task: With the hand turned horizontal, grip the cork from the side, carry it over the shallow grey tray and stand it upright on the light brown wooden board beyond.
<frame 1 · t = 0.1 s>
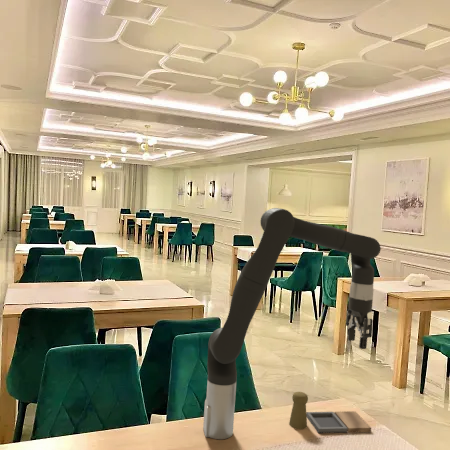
hand: (356, 344, 159), 29 cm above the table, tool pointing down, fingers open, 8 cm apart
cork: (298, 425, 162), on the table
light brown wooden board: (351, 423, 165), on the table
shallow grey tray: (325, 424, 164), on the table
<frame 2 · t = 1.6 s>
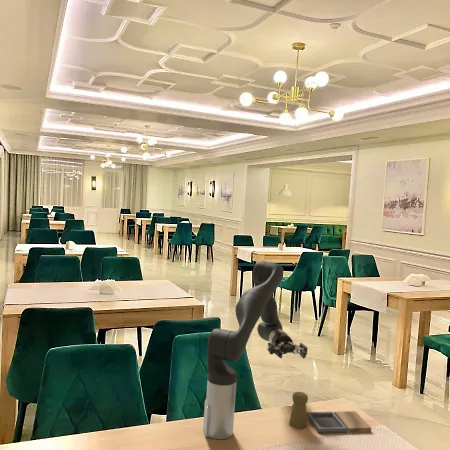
hand: (292, 355, 171), 20 cm above the table, tool horizontal, fingers open, 8 cm apart
nothing on the table moved.
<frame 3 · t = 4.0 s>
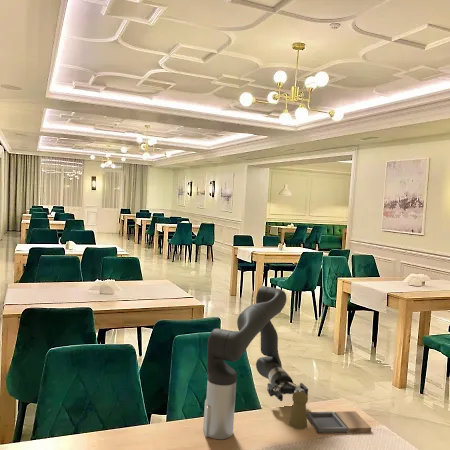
hand: (293, 398, 167), 6 cm above the table, tool horizontal, fingers open, 8 cm apart
nothing on the table moved.
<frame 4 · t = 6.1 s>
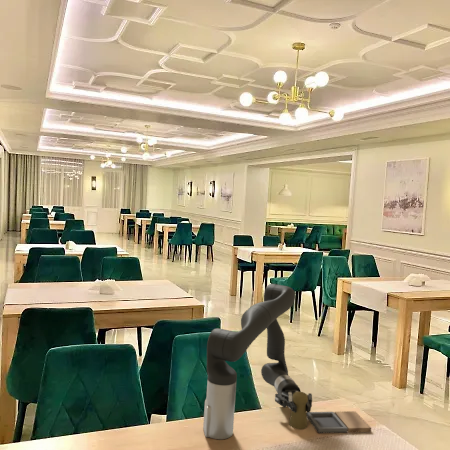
hand: (302, 409, 159), 7 cm above the table, tool horizontal, fingers closed on cork, 4 cm apart
cork: (298, 425, 162), on the table, touching gripper
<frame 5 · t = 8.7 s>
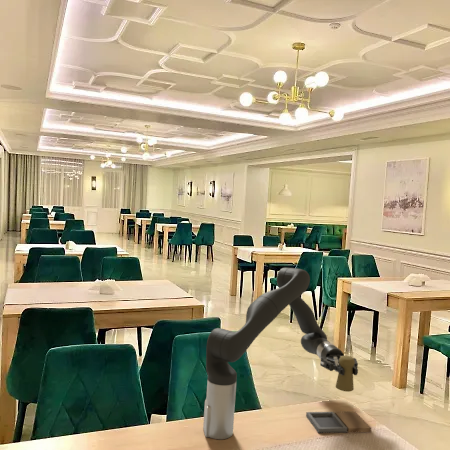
hand: (349, 372, 161), 19 cm above the table, tool horizontal, fingers closed on cork, 4 cm apart
cork: (344, 388, 165), point 12 cm above the table, touching gripper
when the fingers open (8 cm above the table, at t = 11.4 s): cork stays where it is, resting on light brown wooden board.
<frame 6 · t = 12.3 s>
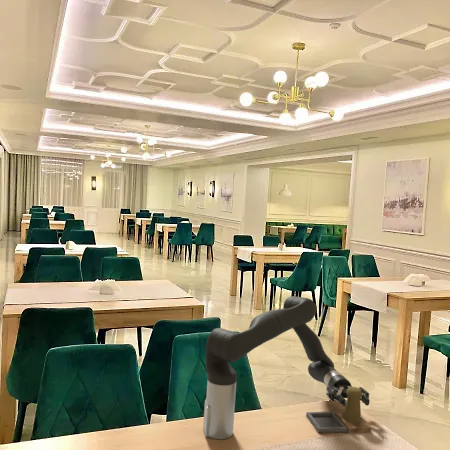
hand: (356, 403, 163), 8 cm above the table, tool horizontal, fingers open, 8 cm apart
cork: (352, 419, 165), point 1 cm above the table, touching light brown wooden board
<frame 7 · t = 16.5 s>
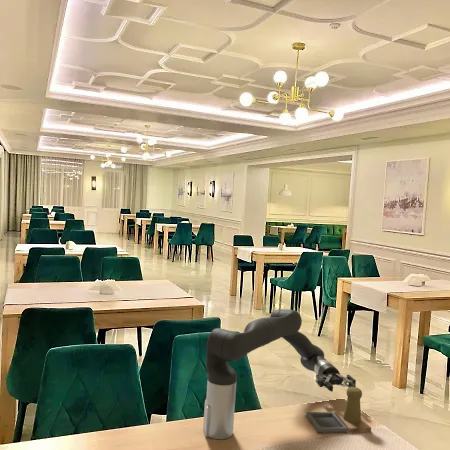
hand: (343, 388, 174), 8 cm above the table, tool horizontal, fingers open, 8 cm apart
nothing on the table moved.
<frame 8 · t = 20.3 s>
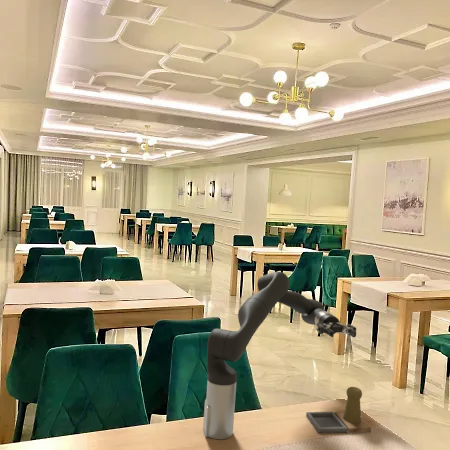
hand: (343, 334, 174), 28 cm above the table, tool horizontal, fingers open, 8 cm apart
nothing on the table moved.
at the end: cork inside the target area on the light brown wooden board (0.2 cm from its centre), point 1.3 cm above the light brown wooden board's base; cork tilted 0°; cork touching light brown wooden board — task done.
